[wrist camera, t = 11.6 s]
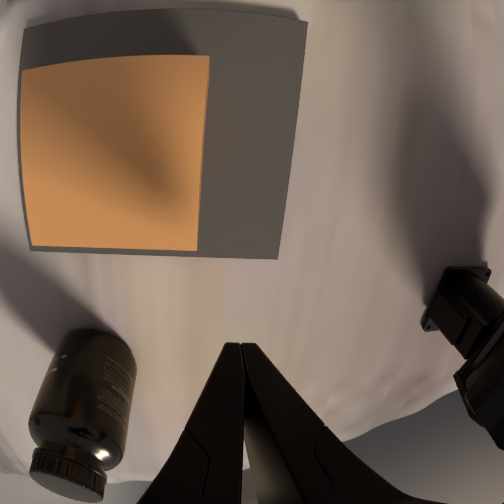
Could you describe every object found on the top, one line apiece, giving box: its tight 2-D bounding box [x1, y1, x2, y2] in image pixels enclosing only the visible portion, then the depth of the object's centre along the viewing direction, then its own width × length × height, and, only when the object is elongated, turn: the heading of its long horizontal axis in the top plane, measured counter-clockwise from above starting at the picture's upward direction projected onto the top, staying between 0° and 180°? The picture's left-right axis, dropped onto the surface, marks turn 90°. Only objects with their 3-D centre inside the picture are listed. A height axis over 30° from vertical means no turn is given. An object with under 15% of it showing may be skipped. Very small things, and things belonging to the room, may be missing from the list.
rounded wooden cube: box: [20, 55, 210, 251], centre depth 12 cm, size 6×6×7 cm
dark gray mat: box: [17, 9, 308, 259], centre depth 16 cm, size 16×14×1 cm
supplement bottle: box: [28, 329, 137, 503], centre depth 17 cm, size 7×7×12 cm
